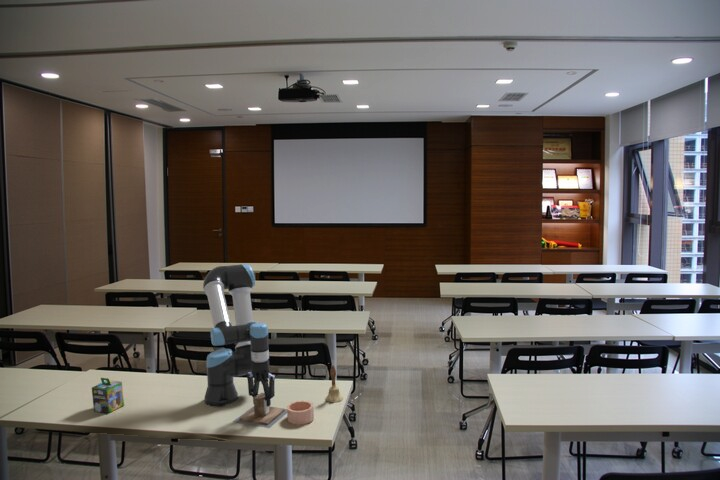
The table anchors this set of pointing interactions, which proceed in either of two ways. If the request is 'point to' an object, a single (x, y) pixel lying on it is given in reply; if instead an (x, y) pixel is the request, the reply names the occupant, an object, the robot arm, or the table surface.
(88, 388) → the table surface
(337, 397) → the hand bell
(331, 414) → the table surface
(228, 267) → the robot arm
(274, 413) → the walnut lid
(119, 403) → the chalk box
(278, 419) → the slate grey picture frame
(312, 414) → the terracotta bowl
